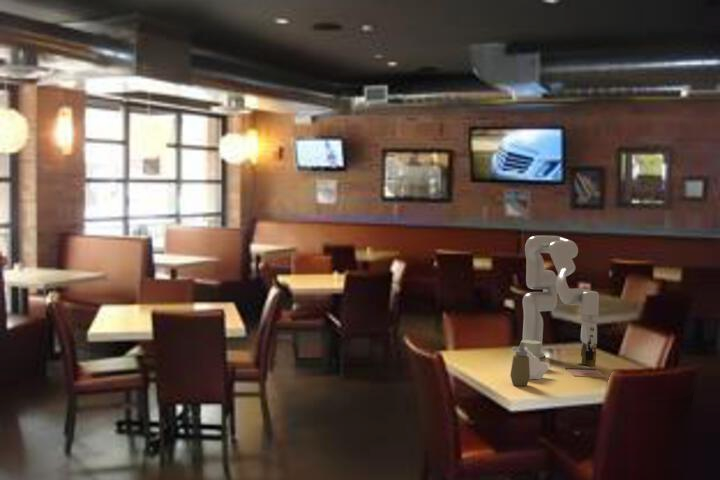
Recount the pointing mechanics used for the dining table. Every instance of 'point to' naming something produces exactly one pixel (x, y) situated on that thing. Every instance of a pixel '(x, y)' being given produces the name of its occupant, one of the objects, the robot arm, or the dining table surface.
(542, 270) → the robot arm
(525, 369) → the squeeze bottle
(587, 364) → the condiment
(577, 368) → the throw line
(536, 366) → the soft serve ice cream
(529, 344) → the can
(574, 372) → the mat
